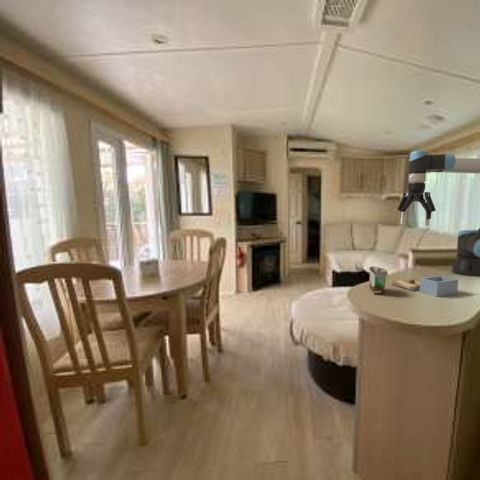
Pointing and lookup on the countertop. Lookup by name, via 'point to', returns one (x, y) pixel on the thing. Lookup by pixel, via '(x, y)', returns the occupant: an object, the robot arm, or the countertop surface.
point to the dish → (438, 285)
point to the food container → (377, 280)
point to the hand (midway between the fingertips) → (414, 225)
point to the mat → (408, 289)
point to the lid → (408, 283)
